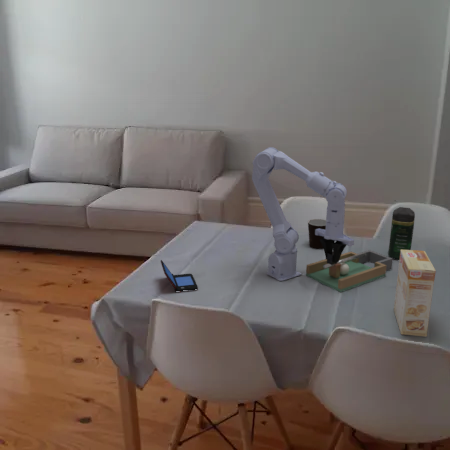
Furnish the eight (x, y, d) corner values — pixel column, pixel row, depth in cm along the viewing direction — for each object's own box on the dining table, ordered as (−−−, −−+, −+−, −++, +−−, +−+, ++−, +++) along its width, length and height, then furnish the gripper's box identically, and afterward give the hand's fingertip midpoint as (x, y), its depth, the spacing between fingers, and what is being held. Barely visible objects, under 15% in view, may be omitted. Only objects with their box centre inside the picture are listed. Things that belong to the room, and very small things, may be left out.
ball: (343, 277, 174) (343, 266, 173) (334, 273, 177) (335, 262, 176) (351, 274, 176) (352, 263, 175) (342, 270, 179) (343, 260, 178)
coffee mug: (322, 251, 200) (323, 227, 196) (302, 246, 204) (303, 223, 201) (335, 243, 208) (337, 219, 205) (316, 238, 213) (317, 215, 210)
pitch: (340, 292, 166) (341, 280, 164) (306, 275, 178) (306, 264, 177) (398, 271, 181) (399, 260, 180) (362, 257, 194) (363, 247, 192)
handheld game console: (198, 291, 167) (198, 270, 165) (165, 294, 165) (164, 273, 163) (192, 276, 179) (191, 256, 177) (161, 279, 177) (160, 258, 174)
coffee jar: (409, 262, 189) (415, 213, 183) (387, 259, 192) (392, 211, 186) (410, 253, 198) (416, 206, 192) (389, 250, 200) (393, 204, 194)
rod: (327, 280, 170) (328, 257, 168) (320, 277, 173) (321, 254, 170) (367, 267, 181) (369, 244, 178) (360, 264, 184) (362, 241, 181)
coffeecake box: (427, 337, 139) (436, 270, 133) (400, 335, 140) (407, 269, 134) (417, 311, 153) (425, 250, 147) (393, 309, 154) (399, 248, 148)
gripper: (309, 218, 170) (307, 257, 175) (345, 229, 160) (342, 270, 164) (323, 214, 175) (321, 252, 179) (359, 225, 164) (355, 264, 168)
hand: (332, 260), depth 172 cm, fingers closed on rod, 3 cm apart
